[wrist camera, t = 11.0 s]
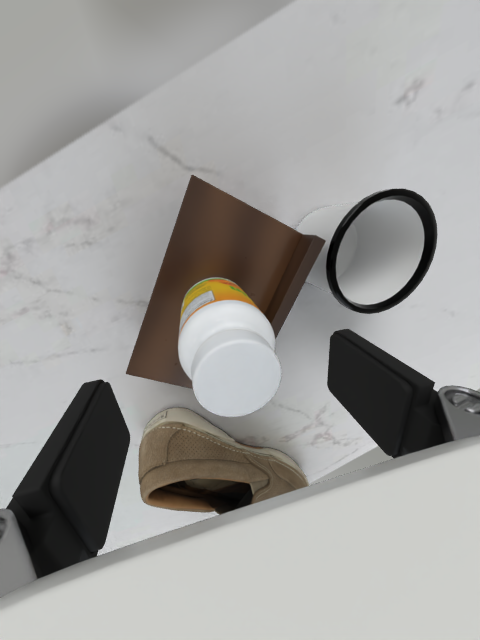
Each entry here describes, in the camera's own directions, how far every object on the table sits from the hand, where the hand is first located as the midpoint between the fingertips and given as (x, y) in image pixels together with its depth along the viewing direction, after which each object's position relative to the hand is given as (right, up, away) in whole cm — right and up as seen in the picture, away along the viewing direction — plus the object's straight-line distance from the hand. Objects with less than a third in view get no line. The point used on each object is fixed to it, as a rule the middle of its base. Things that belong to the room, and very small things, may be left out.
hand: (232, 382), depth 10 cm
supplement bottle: (-2, +4, +9) cm, 10 cm away
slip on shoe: (-1, -18, +26) cm, 32 cm away
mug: (+11, +12, +16) cm, 23 cm away
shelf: (-3, +6, +15) cm, 17 cm away
